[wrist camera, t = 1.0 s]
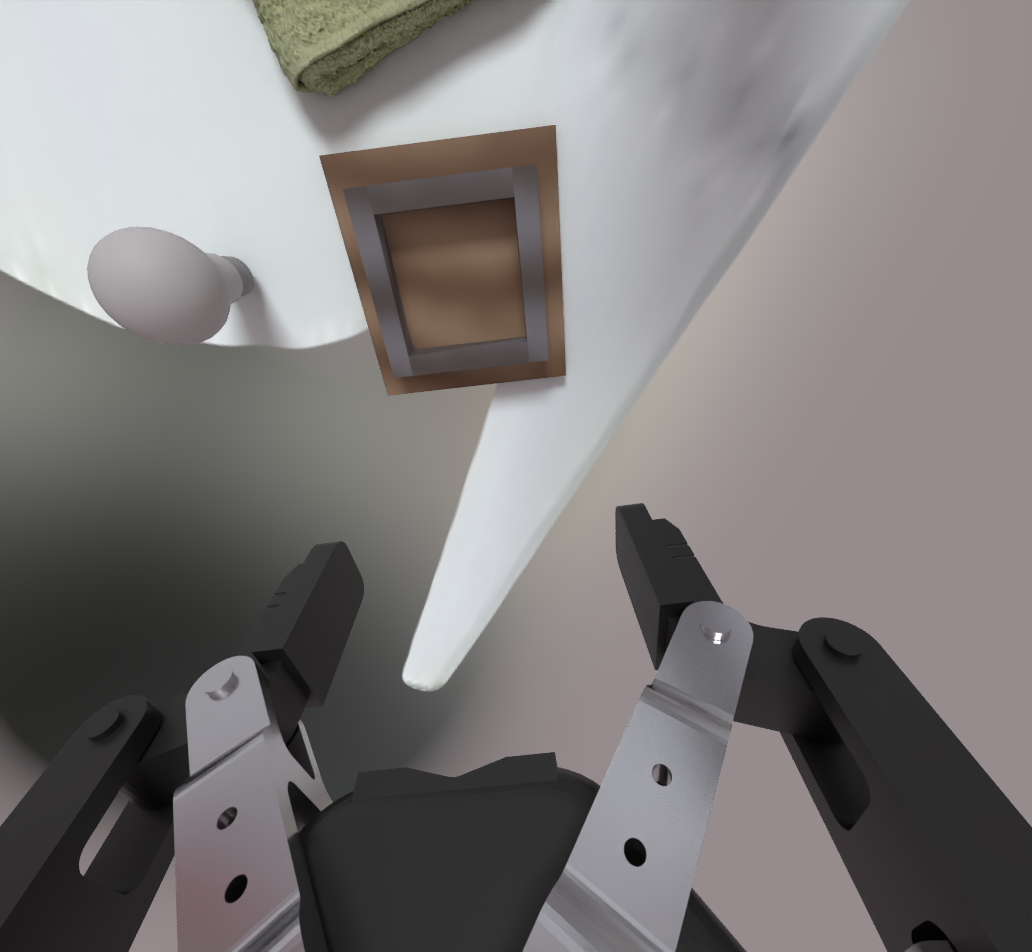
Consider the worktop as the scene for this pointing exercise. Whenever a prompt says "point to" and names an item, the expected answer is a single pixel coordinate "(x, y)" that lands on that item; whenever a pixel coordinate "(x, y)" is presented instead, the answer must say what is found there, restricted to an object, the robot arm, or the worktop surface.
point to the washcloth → (342, 35)
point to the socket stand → (456, 257)
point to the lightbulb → (165, 285)
